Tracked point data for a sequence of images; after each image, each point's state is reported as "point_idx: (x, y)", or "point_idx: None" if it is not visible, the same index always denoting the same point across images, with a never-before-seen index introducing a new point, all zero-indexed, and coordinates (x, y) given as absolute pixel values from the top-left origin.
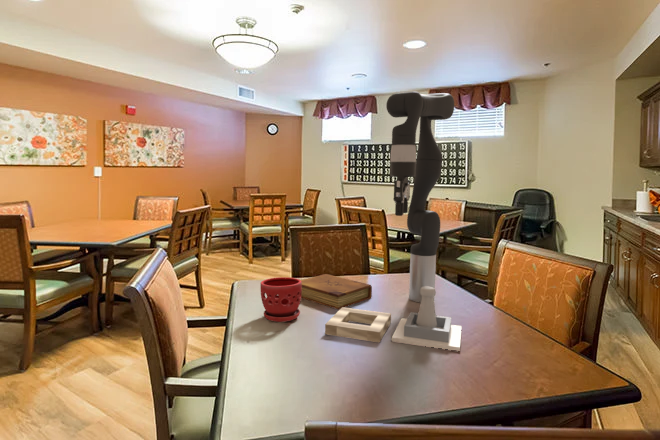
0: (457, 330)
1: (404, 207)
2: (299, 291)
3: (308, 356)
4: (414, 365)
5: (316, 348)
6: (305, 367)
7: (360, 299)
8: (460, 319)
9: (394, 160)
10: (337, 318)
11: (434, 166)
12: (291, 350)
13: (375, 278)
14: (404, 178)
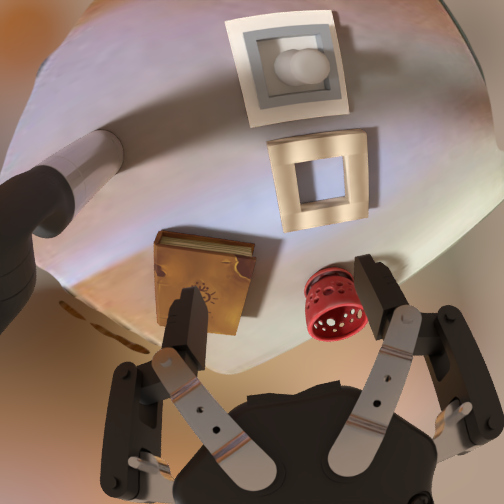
0: (253, 22)
1: (197, 322)
2: (339, 293)
3: (424, 195)
4: (403, 68)
5: (404, 197)
6: (444, 185)
7: (187, 238)
8: (166, 42)
9: None
10: (339, 213)
11: None
12: (415, 218)
13: (70, 272)
14: (409, 499)
